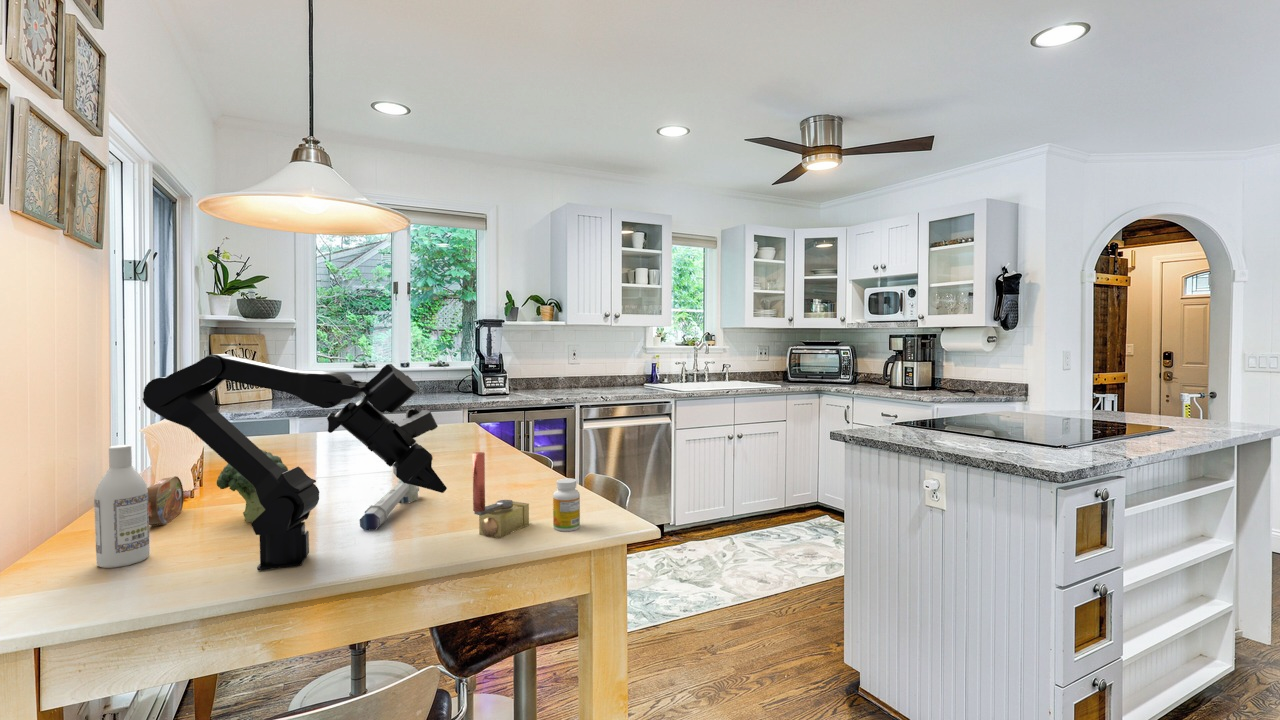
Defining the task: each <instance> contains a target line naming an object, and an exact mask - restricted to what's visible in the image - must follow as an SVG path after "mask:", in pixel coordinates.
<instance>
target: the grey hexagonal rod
mask: <svg viewBox="0 0 1280 720" xmlns="http://www.w3.org/2000/svg"><path fill="white" fill-rule="evenodd" d="M418 492H420V487H419V486H415V485H411V484H406V483H403V482H402V481H401V480H400V479H399V478H397V484H396V485H395V486H394V487H393V488H391V489H390V490H389V491H388V492H387V493H386V494H384V495H383V496H381V498H380V499H379V500H378V501H376V503H374V504H372V505H369V507H368V508H367V509H366V510H365V511H364V514H363V515H362V516H361V518H360V519H359V527H360V528H361V529H362V530H363V531H376V530H377V529H378V528H379V527H380V526H382V525H383V524H384V523H385V522H387V520H388V516H389V515H390V514H391V512H392V511H393V510H394V509H395V508H396V507H397V505H398V504H410V503H409V502H411V503H412V502H415V501H417V500H418V499H419V493H418ZM381 524H382V525H381Z"/></svg>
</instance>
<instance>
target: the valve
mask: <svg viewBox="0 0 1280 720" xmlns="http://www.w3.org/2000/svg"><path fill="white" fill-rule="evenodd" d="M512 501H513V500H512ZM478 516H479V517H478V518H479V520H478V522H479V523H478V527H479V529H478V530H479V533H478V534H479V535H481V536H485V537H488V538H496V537H497V538H496V539H502V538H504V537H506V536H508V535H510V534H511V532H512V533H514V532H516V531H518V530H520V529H521V528H525V527H527V526H529V525H530V503H527V502H521V501H513V507H512V508H509V509H500V510H497V511H494V512H491V513H487V514H484V515H481V516H480V515H478ZM515 530H516V531H515ZM513 531H514V532H513Z"/></svg>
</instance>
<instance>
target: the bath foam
mask: <svg viewBox="0 0 1280 720" xmlns="http://www.w3.org/2000/svg"><path fill="white" fill-rule="evenodd" d="M132 452H133V451H132V445H131V444H119V445H111V446H109V447H108V464H109V468H108V469H107V470H106V472H105V474H104V475H103V476H101V479H100V480H99V482H98V484H97V486H96V488H95V491H94V499H93V502H94V503H93V504H94V506H93V507H94V527H95V528H94V534H95V537H94V538H95V557H96V558H95V559H96V565H97V566H98V567H100V568H105V569H110V568H114V569H115V568H122V567H128V566H131V565H134V564H137V563H140V562H142V561H144V560H146V559H148V557H149V556H150V555H151V554H150V553H151V552H150V551H151V550H150V548H151V547H150V546H151V545H150V525H149V509H148V489H147V488H148V486H147V483H146V481H145V479H144V477H143V476H142V475H141V473H139V472H138V470H136V469H135V467H134V466H133V460H132V459H133V458H132V457H133V456H132V455H133V454H132Z"/></svg>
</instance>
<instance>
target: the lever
mask: <svg viewBox="0 0 1280 720" xmlns="http://www.w3.org/2000/svg"><path fill="white" fill-rule="evenodd" d="M485 456H486V455H485V452H483V451H479V452H473V453H472V503H473V505H472V512H473V514H474V515H477V516H479V515H480V516H481V515H484V514H487V513H491V512H494V511H497V510H500V509H509V508H512V507H513V500H511V499H500V500H497V501H496V502H495V503H493V504H490V505H489V504H488V505H487V506H486V476H485V475H486V469H485V468H486V462H485V460H486V459H485Z"/></svg>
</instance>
